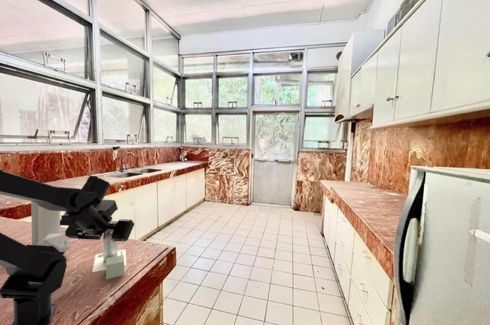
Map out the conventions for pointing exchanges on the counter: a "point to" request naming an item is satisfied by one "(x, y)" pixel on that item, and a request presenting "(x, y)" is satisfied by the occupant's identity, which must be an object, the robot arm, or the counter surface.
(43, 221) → the paper towel roll
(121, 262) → the block
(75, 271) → the counter surface
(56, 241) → the die
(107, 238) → the tin
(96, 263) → the letter
